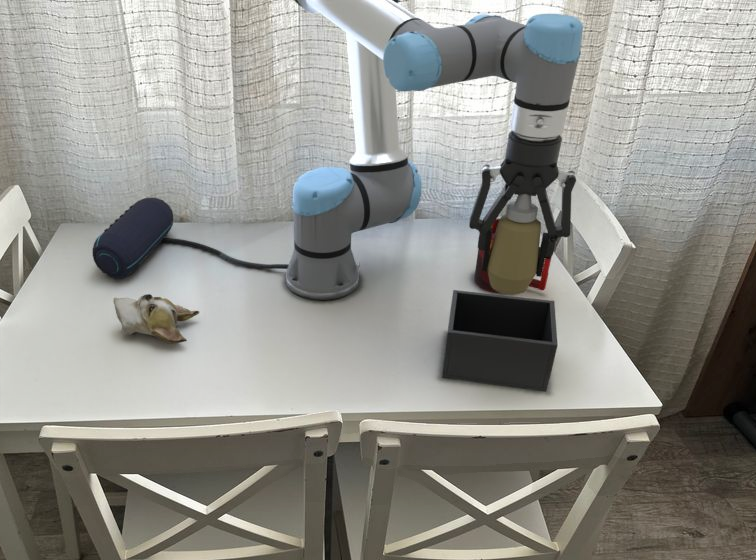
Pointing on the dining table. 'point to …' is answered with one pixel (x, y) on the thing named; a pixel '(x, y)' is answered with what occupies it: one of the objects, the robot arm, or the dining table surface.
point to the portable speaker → (132, 237)
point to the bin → (500, 340)
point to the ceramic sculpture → (152, 317)
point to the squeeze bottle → (515, 248)
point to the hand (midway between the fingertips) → (511, 269)
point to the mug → (483, 277)
